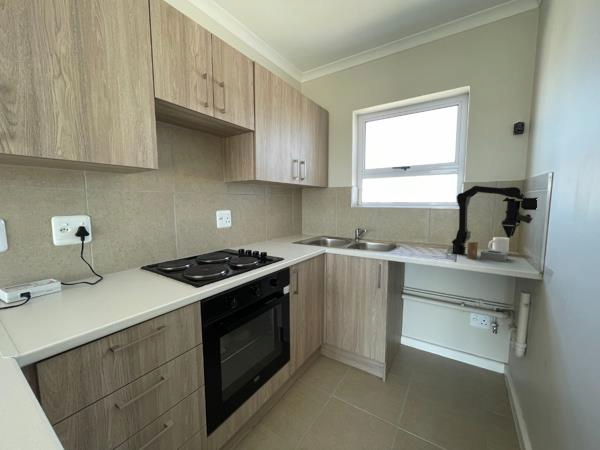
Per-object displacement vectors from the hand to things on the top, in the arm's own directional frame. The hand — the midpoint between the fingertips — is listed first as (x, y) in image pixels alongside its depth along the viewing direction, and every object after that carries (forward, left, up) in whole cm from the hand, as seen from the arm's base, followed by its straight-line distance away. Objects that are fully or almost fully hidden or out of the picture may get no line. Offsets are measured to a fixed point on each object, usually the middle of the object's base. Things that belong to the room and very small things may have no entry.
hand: (510, 236), depth 141 cm
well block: (-7, 0, -14) cm, 16 cm away
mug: (-9, +19, -14) cm, 26 cm away
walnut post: (-16, -9, -14) cm, 23 cm away
